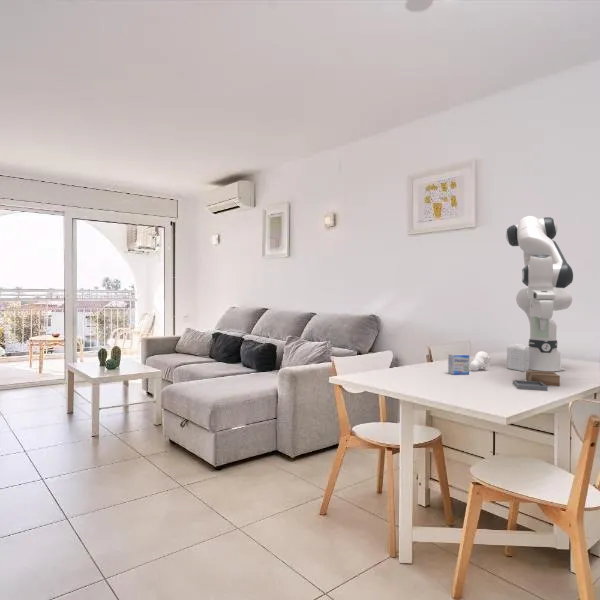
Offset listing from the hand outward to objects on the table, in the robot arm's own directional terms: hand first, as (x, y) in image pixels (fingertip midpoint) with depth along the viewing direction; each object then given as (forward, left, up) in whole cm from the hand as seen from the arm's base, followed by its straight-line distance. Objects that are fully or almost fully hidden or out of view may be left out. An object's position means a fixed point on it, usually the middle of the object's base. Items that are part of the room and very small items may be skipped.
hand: (539, 329), depth 181 cm
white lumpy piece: (-27, -19, -22) cm, 40 cm away
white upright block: (-34, -1, -22) cm, 40 cm away
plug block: (0, 0, -3) cm, 3 cm away
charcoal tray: (+8, -5, -22) cm, 24 cm away
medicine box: (-14, -29, -22) cm, 39 cm away
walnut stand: (-3, +2, -22) cm, 22 cm away
